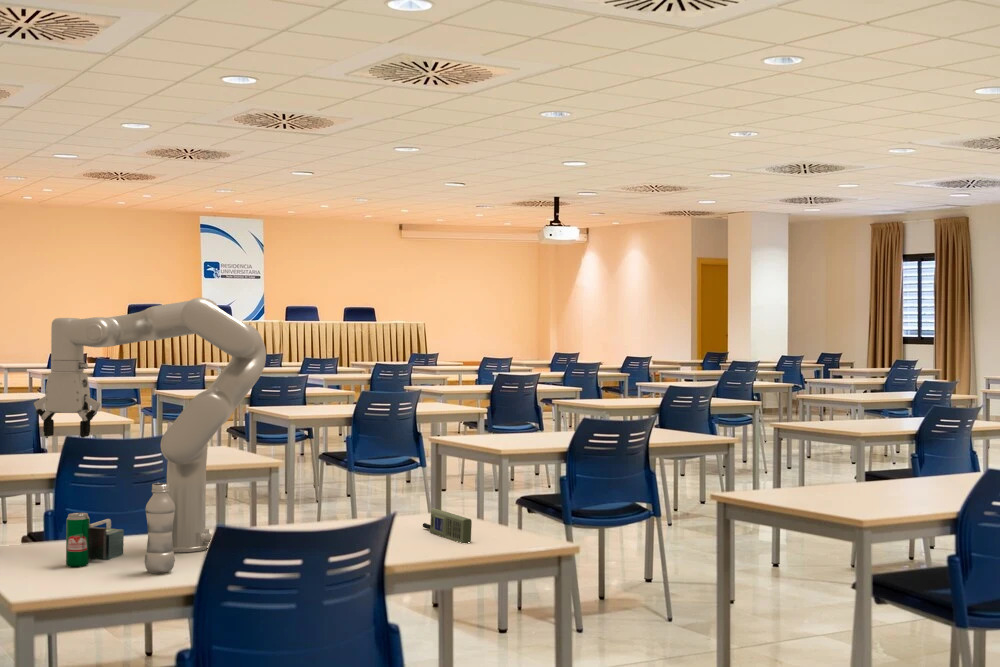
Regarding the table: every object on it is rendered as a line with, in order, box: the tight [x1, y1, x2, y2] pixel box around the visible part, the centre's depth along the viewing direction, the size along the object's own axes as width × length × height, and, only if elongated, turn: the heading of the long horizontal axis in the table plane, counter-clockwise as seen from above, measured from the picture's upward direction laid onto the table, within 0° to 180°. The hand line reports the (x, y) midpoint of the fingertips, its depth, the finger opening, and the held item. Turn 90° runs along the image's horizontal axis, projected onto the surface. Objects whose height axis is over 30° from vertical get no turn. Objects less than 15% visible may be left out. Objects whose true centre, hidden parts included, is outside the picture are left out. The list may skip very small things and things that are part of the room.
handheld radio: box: [422, 507, 472, 544], centre depth 300 cm, size 7×3×25 cm
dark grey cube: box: [102, 528, 125, 561], centre depth 269 cm, size 7×7×6 cm
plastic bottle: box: [144, 482, 176, 574], centre depth 251 cm, size 6×7×20 cm
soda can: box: [65, 512, 91, 569], centre depth 258 cm, size 5×5×12 cm
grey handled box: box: [89, 518, 112, 560], centre depth 267 cm, size 10×8×8 cm
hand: (66, 436), depth 277 cm, fingers open, 9 cm apart
